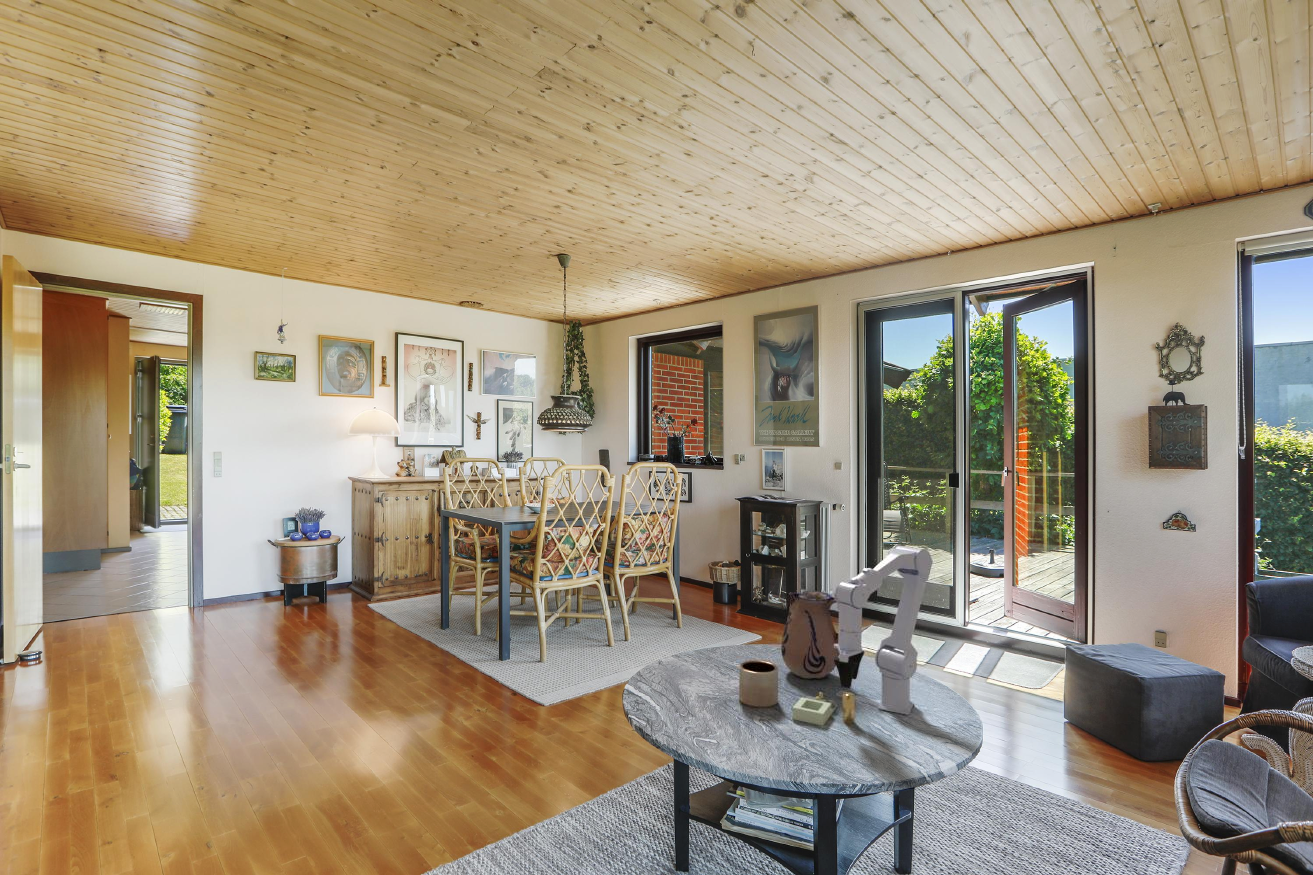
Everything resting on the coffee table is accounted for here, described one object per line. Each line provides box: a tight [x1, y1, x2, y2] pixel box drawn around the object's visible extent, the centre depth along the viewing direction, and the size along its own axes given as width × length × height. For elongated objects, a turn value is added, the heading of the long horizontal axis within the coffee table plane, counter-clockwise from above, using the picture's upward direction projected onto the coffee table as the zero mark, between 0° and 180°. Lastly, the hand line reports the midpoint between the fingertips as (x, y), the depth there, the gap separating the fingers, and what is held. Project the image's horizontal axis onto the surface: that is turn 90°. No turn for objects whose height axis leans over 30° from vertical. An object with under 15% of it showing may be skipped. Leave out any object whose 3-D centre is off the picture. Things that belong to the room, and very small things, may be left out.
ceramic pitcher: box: [780, 590, 840, 680], centre depth 200 cm, size 18×21×25 cm
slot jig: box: [792, 691, 838, 727], centre depth 170 cm, size 14×8×3 cm, turn 151°
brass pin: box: [842, 691, 856, 725], centre depth 165 cm, size 3×3×7 cm
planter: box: [738, 659, 779, 709], centre depth 179 cm, size 11×11×10 cm
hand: (849, 682), depth 165 cm, fingers open, 7 cm apart
